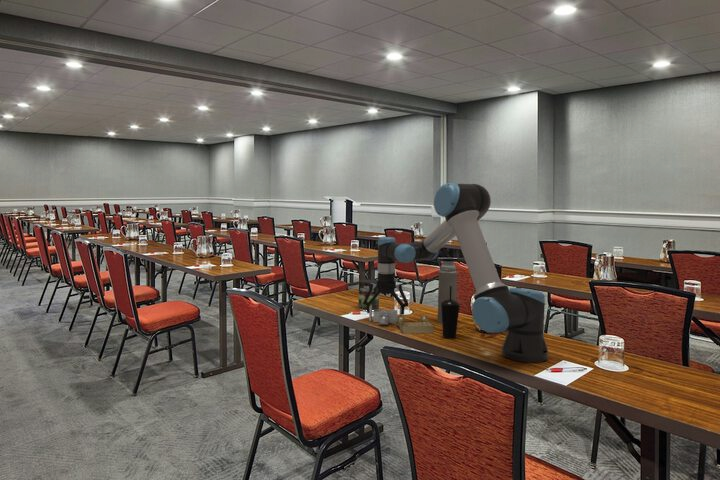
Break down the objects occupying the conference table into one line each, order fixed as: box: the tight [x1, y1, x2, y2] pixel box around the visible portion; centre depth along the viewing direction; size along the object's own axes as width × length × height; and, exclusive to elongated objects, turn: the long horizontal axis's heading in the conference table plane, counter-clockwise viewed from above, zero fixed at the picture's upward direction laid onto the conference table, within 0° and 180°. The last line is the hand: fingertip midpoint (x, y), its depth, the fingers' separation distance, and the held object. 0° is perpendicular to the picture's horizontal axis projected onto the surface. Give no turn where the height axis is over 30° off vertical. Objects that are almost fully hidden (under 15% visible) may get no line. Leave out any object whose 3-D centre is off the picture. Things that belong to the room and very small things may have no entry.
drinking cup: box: [440, 286, 461, 340], centre depth 191 cm, size 8×8×20 cm
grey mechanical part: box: [372, 308, 398, 326], centre depth 212 cm, size 12×10×5 cm
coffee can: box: [357, 278, 380, 310], centre depth 239 cm, size 10×10×14 cm
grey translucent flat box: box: [396, 315, 435, 335], centre depth 203 cm, size 13×12×4 cm
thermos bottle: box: [437, 257, 458, 324], centre depth 216 cm, size 8×8×28 cm
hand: (385, 321), depth 216 cm, fingers open, 12 cm apart
